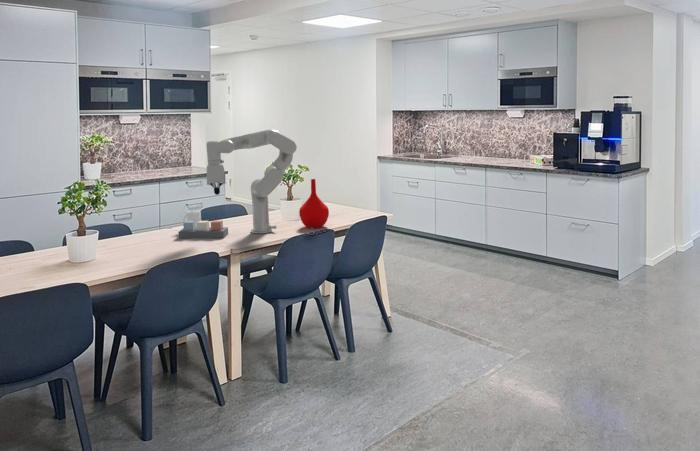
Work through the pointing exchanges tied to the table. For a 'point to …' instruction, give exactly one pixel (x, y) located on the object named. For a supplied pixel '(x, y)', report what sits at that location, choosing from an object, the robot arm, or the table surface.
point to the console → (203, 233)
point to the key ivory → (202, 225)
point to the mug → (193, 216)
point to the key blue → (189, 225)
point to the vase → (314, 210)
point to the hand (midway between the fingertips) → (217, 194)
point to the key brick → (216, 225)
